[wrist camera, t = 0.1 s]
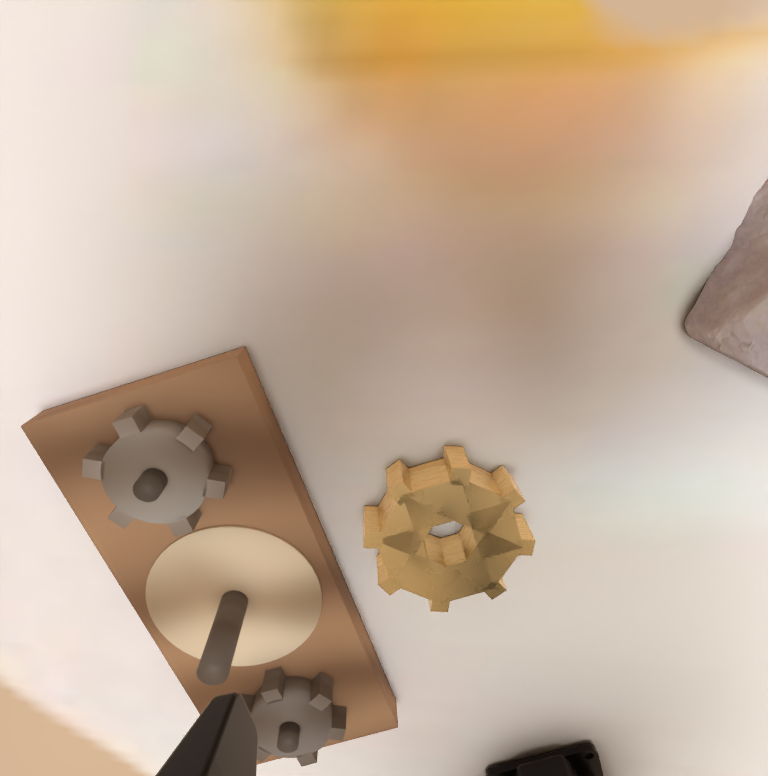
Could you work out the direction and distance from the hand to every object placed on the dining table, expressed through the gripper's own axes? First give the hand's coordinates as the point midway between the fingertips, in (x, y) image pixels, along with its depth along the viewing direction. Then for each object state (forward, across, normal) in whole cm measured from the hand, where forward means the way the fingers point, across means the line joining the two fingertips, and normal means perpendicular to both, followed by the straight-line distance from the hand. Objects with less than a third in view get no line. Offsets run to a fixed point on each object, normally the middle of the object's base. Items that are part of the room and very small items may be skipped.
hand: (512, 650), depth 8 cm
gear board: (+14, +10, +8) cm, 19 cm away
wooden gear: (+14, 0, +7) cm, 16 cm away
